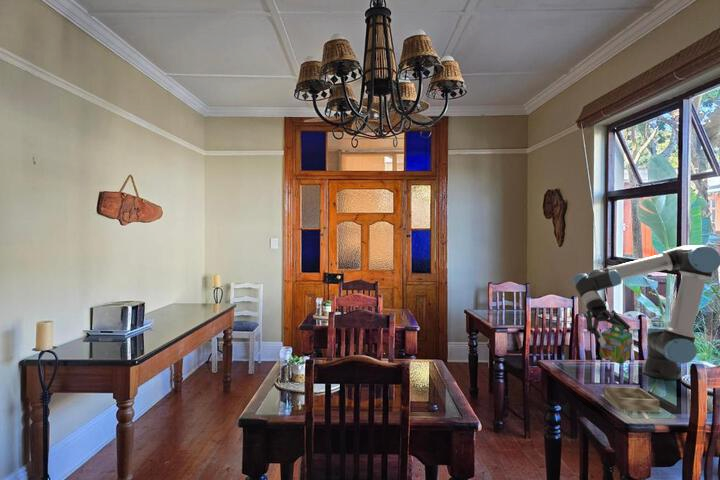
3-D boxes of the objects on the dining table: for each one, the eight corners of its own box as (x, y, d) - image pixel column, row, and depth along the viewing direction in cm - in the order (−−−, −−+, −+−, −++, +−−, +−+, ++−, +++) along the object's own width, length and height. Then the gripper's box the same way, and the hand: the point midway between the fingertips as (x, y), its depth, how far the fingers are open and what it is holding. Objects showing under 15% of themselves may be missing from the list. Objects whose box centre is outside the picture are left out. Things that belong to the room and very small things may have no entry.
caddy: (639, 397, 176) (639, 387, 176) (659, 410, 162) (659, 400, 162) (604, 395, 177) (604, 386, 177) (620, 409, 164) (620, 398, 164)
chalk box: (599, 357, 184) (600, 326, 181) (609, 350, 189) (610, 319, 186) (622, 365, 177) (623, 332, 174) (631, 357, 182) (633, 325, 179)
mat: (640, 397, 177) (641, 396, 177) (663, 413, 161) (663, 412, 161) (600, 395, 179) (600, 394, 179) (618, 411, 163) (618, 409, 163)
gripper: (613, 307, 200) (638, 347, 185) (566, 308, 196) (587, 349, 182) (622, 297, 194) (648, 338, 179) (573, 298, 191) (596, 340, 176)
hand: (617, 344), depth 180 cm, fingers closed on chalk box, 12 cm apart
